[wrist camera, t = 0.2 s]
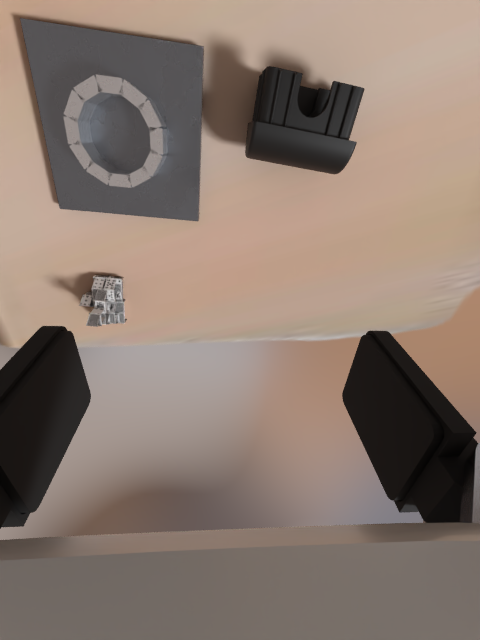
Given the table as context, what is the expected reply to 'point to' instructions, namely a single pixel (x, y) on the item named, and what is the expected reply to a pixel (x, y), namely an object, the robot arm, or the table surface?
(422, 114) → the table surface
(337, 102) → the end cap
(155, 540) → the robot arm
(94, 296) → the house of cards
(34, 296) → the table surface
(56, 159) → the grey square plate
